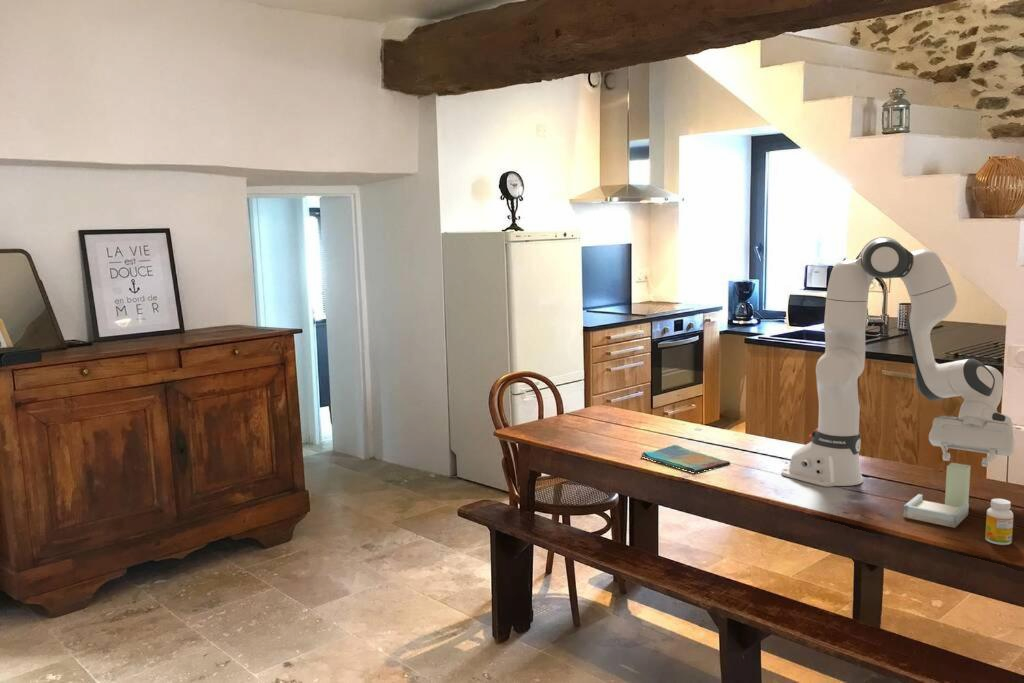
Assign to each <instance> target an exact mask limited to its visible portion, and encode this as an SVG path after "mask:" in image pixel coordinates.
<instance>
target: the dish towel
mask: <svg viewBox="0 0 1024 683" xmlns="http://www.w3.org/2000/svg"><path fill="white" fill-rule="evenodd" d="M641 456H642V457H645V458H648V459H651V460H653V461H656V462H660V463H663V464H662V465H664V464H667V465H670V466H674V467H677V468H680V469H684V470H687V471H691V472H694V473H697V474H699V473H698V472H701V473H703V472H702V471H704V470H709V469H712V470H715V469H714V468H716V469H719V467H720V468H723V467H722V466H724V467H726V466H725V465H727V466H730V465H729V464H731V462H730V461H728V460H724V459H720V458H717V457H714V456H712V455H707V454H705V453H701V452H697V451H693V450H690V449H687V448H684V447H682V446H680V445H675V444H672V445H669V446H667V447H664V448H660V449H657V450H654V451H653V450H652V451H643V452H642V453H641ZM656 462H655V463H656ZM660 463H659V464H660ZM667 465H666V466H667ZM670 466H669V467H670ZM677 468H676V469H677ZM680 469H679V470H680ZM687 471H686V472H687ZM709 471H710V470H709Z"/></svg>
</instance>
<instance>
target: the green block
mask: <svg viewBox="0 0 1024 683" xmlns="http://www.w3.org/2000/svg"><path fill="white" fill-rule="evenodd" d="M970 480H971V464H970V465H969V464H963V463H957V462H951V463H949V464H948V465H947V466H946V476H945V494H944V505H950V506H955V507H960V506H961V505H962V504H964V503H969V499H970V497H969V496H970V484H971V483H970Z"/></svg>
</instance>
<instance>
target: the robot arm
mask: <svg viewBox="0 0 1024 683" xmlns="http://www.w3.org/2000/svg"><path fill="white" fill-rule="evenodd" d="M876 278H878V279H883V280H884V279H885V280H886V279H899V278H900V280H902V282H903V284H904V285H905V288H906V292H907V294H908V296H909V299H910V305H911V306H910V308H911V309H910V313H909V314H908V315H907V318H906V328H907V334H908V338H909V344H910V350H911V354H912V359H913V365H914V369H915V384H916V389H917V390H918V391H919V393H920V394H921V395H922V396H923V397H924V398H926V399H928V400H930V401H932V402H936V401H941V400H945V399H948V398H954V397H955V398H956V397H962V398H963V402H962V404H961V405H960V408H959V412H958V415H957V416H946V415H940V416H937V417H935V418H933V420H932V424H931V426H932V427H931V429H930V431H929V434H928V441H929V442H930V444H931V445H932V446H933V447H940V448H941V450H942V458H941V459H942V461H946V462H947V461H948V462H950V459H951V454H950V452H948V450H949V449H955V450H962V451H967V452H968V451H969V452H973V453H974V452H975V453H983V454H989V455H988V456H986V457H982V460H981V466H982V467H986V468H989V467H990V463H991V462H992V461H994V460H995V459H996V458H997V456H1004V457H1011V456H1012V455H1013V454H1014V450H1015V437H1014V424H1013V421H1012V418H1011V417H1010V416H1009V415H1006V414H1003V413H1000V412H998V409H997V408H998V407H999V404H1000V403H1001V400H1002V395H1003V388H1004V379H1003V374H1002V373H1001V372H1000V371H999V370H998V369H997V368H995V367H993V366H991V365H986V364H983V362H981V361H979V360H977V359H976V358H966V359H965V358H964V359H959V360H954V361H949V362H944V363H938V362H936V358H935V356H934V350H933V346H932V341H931V332H932V330H933V328H934V327H935V326H936V325H938V324H939V323H940V322H942V321H943V320H944V319H946V318H947V317H948V316H949V315H950V314H951V313H952V312H953V310H954V309H955V307H956V305H957V301H958V298H957V293H956V290H955V287H954V284H953V280H952V279H951V276H950V274H949V272H948V270H947V268H946V266H945V264H944V263H943V261H942V259H941V258H940V256H939V255H938V254H937V252H935V251H934V250H932V249H922V248H921V249H917V250H914V251H909V250H908V249H907V248H905V247H904V246H903V245H901V243H900V242H899V241H898V240H896V239H894V238H892V237H887V236H879V237H876V238H873V239H871V240H870V241H868V242H867V243H866V244H865V245H864V246H863V248H862V249H861V250H860V252H859V253H858V255H857V256H856V257H855V259H846V260H842V261H839V262H837V263H835V265H833V267H832V269H831V272H830V275H829V279H828V283H827V284H828V285H827V290H826V295H825V296H826V298H825V308H824V309H825V310H824V321H823V327H824V339H825V345H824V346H825V349H824V354H822V355H821V356H820V357H819V358H818V359H817V362H816V365H815V376H816V390H817V399H818V421H817V422H818V424H817V426H818V427H816V428H815V429H814V430H813V431H811V433H809V438H811V441H810V442H808V443H806V444H805V445H803V446H801V447H800V448H799V449H797V450H796V451H794V453H793V454H792V455H791V457H790V462H789V464H788V465H786V466H785V467H783V468H782V469H781V476H784V477H787V478H792V479H794V480H800V481H802V482H806V483H810V484H813V485H818V486H821V487H827V488H828V487H835V486H836V487H838V486H839V487H840V486H841V487H847V486H849V487H850V486H855V485H856V486H857V485H860V484H862V483H863V482H864V479H863V476H862V471H861V464H860V451H861V443H862V442H861V433H860V415H861V414H860V413H861V411H860V409H861V408H860V401H859V387H858V383H859V381H858V380H859V377H860V376H861V375H862V374H863V372H864V371H865V364H866V363H865V362H866V326H867V325H866V324H867V315H868V306H869V305H868V304H869V293H870V286H871V284H872V282H873V281H874V280H875V279H876Z"/></svg>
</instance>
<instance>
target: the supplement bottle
mask: <svg viewBox="0 0 1024 683" xmlns="http://www.w3.org/2000/svg"><path fill="white" fill-rule="evenodd" d="M1011 504H1012V502H1011V501H1010V500H1007V499H1004V498H992V499H990V507H989V508H988V509H987V510H986V519H985V520H986V521H985V533H984V534H985V537H984V538H985V541H987V542H989V543H990V544H995V545H1000V546H1007V545H1011V544H1012V542H1013V528H1014V513H1013V512H1012V510H1010V509H1011V507H1012V506H1011Z"/></svg>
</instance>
